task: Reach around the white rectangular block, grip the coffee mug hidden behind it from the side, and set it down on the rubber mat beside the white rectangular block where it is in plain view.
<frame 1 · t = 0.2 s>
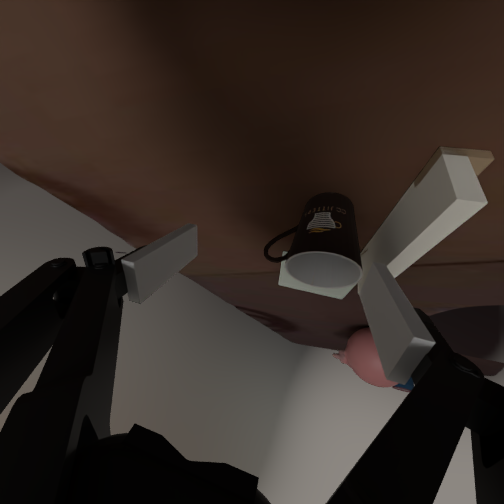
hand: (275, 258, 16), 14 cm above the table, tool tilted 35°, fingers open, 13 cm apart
soda can: (399, 353, 80), on the table
coffee mug: (317, 206, 29), on the table
white rectangular block: (394, 219, 28), on the table
balloon: (366, 327, 65), on the table
mat: (315, 277, 46), on the table
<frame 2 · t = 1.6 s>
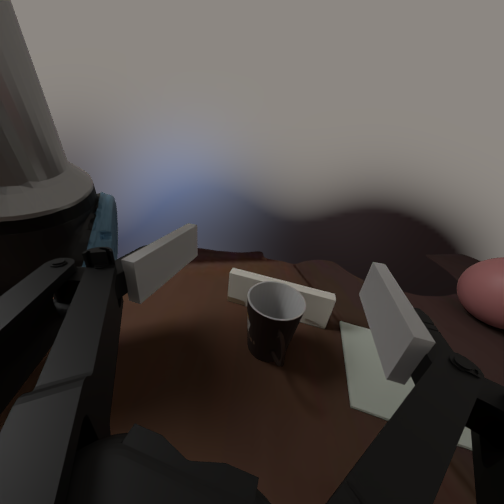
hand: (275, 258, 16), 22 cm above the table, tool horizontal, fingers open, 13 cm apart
coffee mug: (263, 352, 34), on the table
white rectangular block: (274, 310, 42), on the table
balloon: (496, 327, 46), on the table
mat: (396, 372, 33), on the table
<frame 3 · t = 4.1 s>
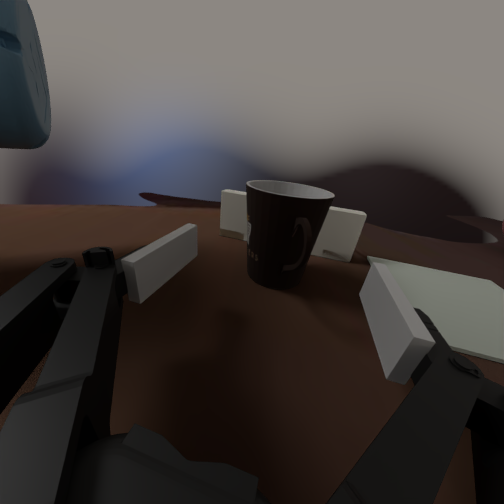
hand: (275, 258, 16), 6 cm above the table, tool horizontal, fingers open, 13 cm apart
coffee mug: (269, 280, 24), on the table
white rectangular block: (281, 245, 32), on the table
mat: (458, 304, 23), on the table
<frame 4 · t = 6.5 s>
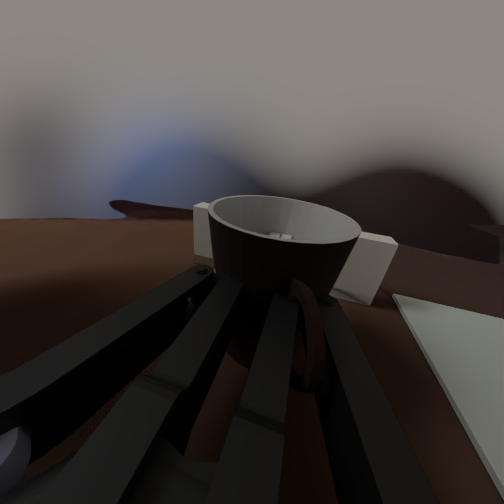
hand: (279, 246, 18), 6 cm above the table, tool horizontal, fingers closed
coffee mug: (254, 349, 16), on the table, touching gripper
white rectangular block: (276, 278, 24), on the table
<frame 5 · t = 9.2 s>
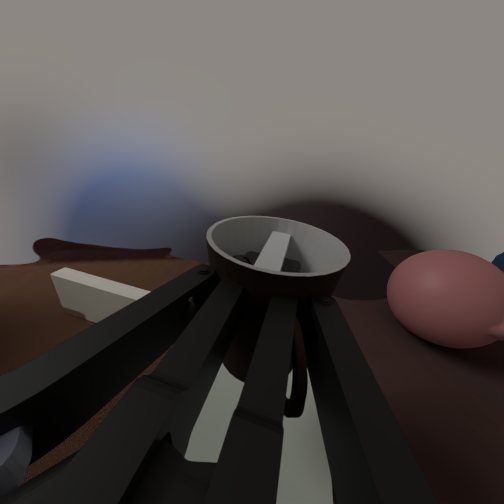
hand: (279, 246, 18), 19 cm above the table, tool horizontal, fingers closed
soda can: (488, 300, 49), on the table
coffee mug: (250, 363, 16), point 11 cm above the table, touching gripper
white rectangular block: (125, 326, 31), on the table
balloon: (433, 341, 36), on the table
mat: (250, 422, 22), on the table
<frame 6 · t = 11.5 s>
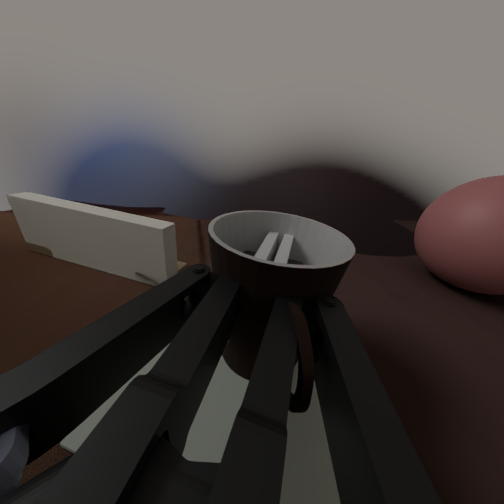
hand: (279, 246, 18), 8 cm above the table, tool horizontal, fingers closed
coffee mug: (252, 360, 16), resting on mat
white rectangular block: (100, 264, 25), on the table
balloon: (473, 293, 29), on the table
mat: (252, 361, 16), on the table
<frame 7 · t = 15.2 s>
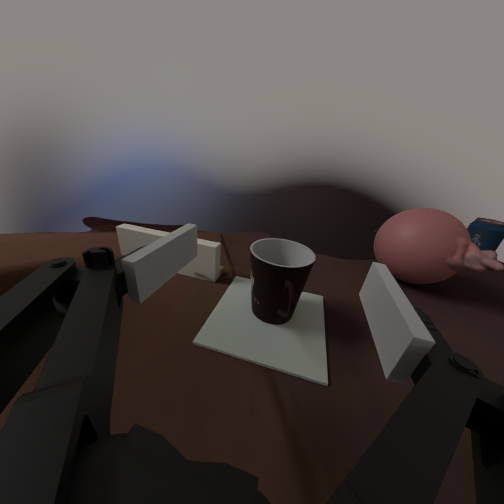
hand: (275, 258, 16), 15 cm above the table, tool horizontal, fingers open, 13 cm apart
soda can: (466, 263, 58), on the table
coffee mug: (268, 316, 31), resting on mat
white rectangular block: (169, 268, 40), on the table
balloon: (411, 284, 44), on the table
mat: (268, 317, 31), on the table
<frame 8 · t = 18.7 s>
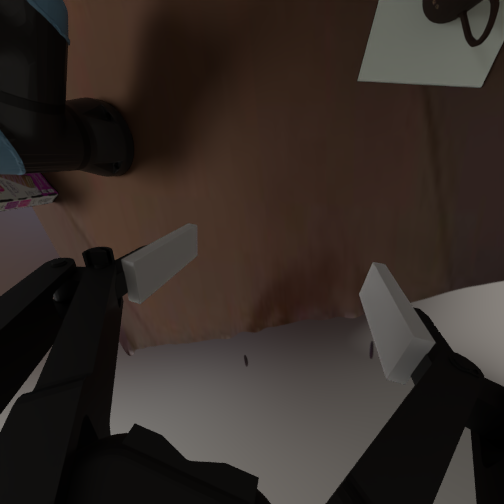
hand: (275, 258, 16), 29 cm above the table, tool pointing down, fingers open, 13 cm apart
coffee mug: (444, 6, 26), resting on mat
candy bar box: (42, 180, 57), on the table
mat: (443, 6, 27), on the table
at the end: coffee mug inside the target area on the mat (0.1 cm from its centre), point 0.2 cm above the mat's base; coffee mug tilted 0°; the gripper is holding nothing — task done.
